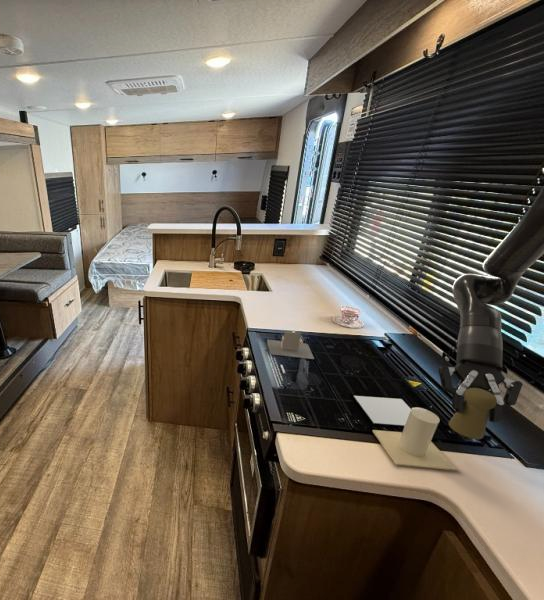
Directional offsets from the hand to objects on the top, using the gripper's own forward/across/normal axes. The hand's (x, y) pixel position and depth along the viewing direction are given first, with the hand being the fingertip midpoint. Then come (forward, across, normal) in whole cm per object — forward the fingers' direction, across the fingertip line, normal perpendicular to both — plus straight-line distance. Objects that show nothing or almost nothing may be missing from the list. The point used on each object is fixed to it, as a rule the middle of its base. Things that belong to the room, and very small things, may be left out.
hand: (476, 416), depth 70 cm
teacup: (-39, -24, +52) cm, 69 cm away
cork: (+3, 0, +5) cm, 6 cm away
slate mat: (+3, -14, +10) cm, 18 cm away
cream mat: (+12, -10, +1) cm, 16 cm away
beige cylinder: (+11, -10, +1) cm, 15 cm away
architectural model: (-13, -43, +26) cm, 52 cm away
